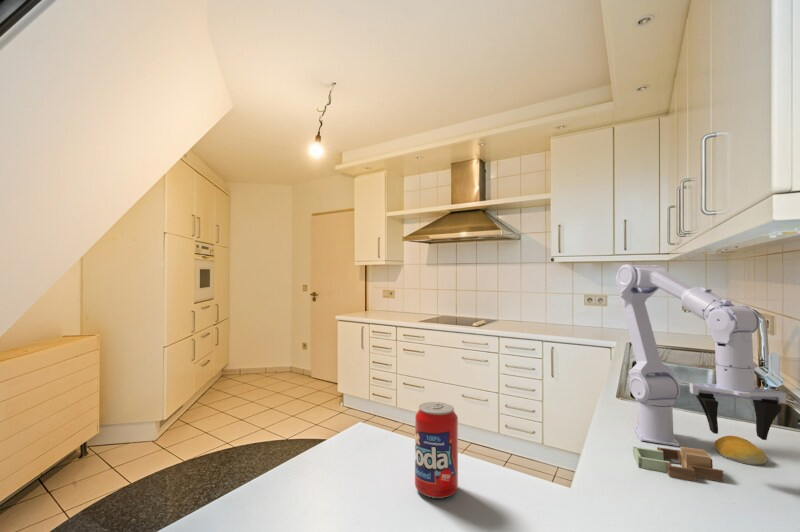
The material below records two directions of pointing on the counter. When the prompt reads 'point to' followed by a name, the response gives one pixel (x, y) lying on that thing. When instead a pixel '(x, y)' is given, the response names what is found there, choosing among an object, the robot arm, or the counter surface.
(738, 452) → the bread roll
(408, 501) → the counter surface
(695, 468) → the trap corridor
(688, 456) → the oak block
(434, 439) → the soda can
